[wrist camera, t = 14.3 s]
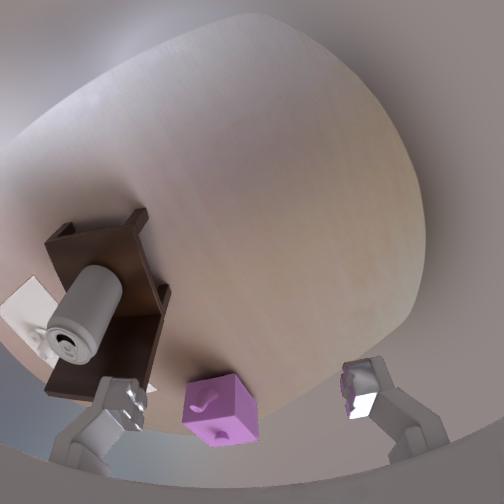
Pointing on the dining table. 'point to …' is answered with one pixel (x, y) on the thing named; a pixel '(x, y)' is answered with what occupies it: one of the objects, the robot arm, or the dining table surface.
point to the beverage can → (84, 315)
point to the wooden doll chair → (126, 313)
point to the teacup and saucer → (41, 346)
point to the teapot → (221, 411)
